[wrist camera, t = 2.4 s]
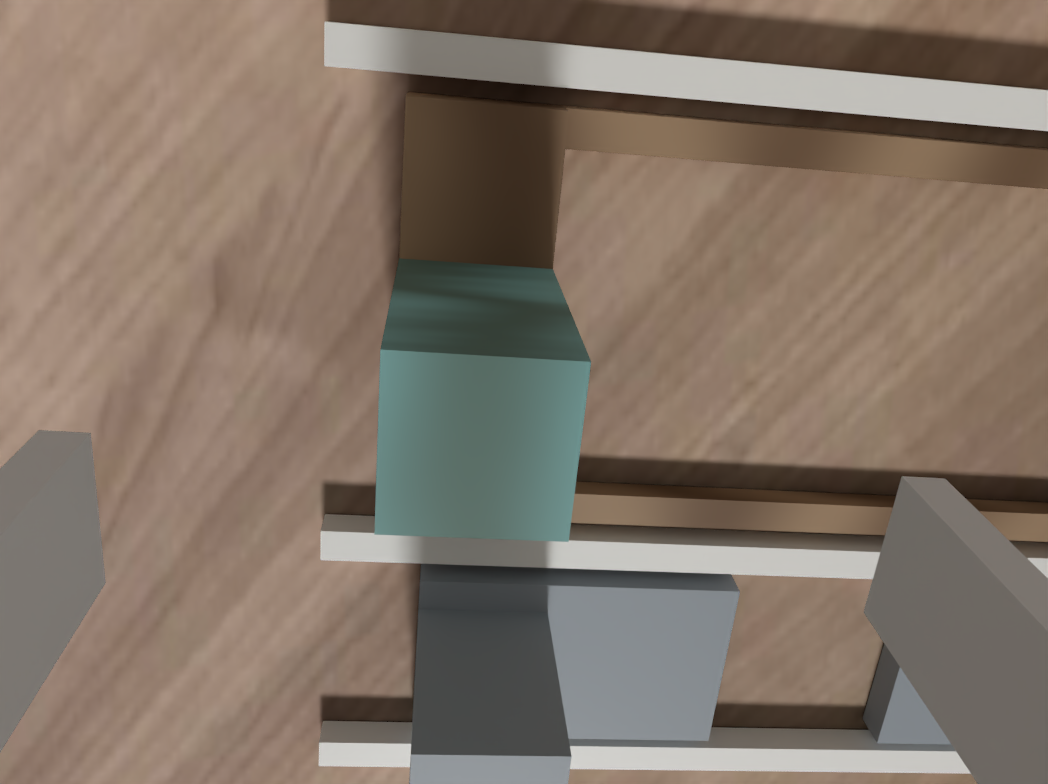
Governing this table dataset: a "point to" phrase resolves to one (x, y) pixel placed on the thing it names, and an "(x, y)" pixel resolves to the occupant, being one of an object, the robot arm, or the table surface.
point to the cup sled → (550, 331)
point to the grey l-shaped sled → (560, 666)
